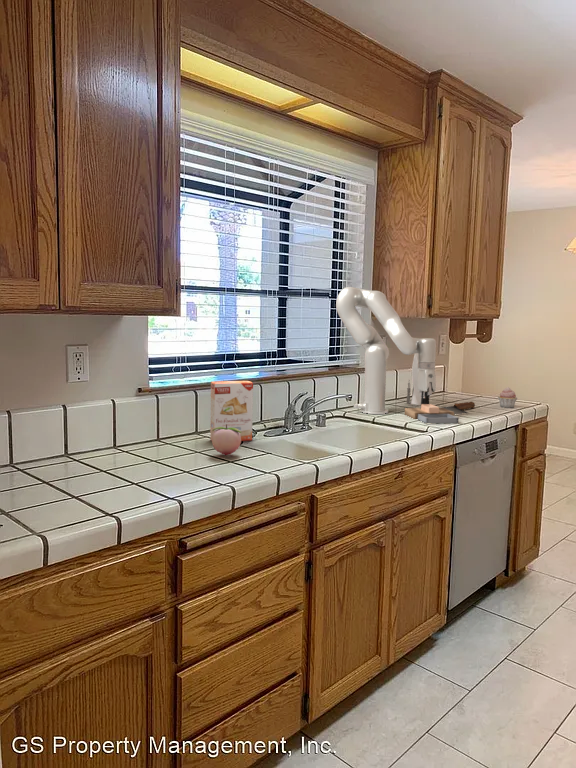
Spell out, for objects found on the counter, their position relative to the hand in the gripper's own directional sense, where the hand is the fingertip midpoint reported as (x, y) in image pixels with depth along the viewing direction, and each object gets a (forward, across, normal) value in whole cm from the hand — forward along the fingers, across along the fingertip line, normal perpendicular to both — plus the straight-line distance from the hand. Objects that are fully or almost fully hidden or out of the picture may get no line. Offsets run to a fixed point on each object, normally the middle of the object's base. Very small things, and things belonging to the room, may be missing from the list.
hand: (424, 406), depth 257 cm
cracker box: (+4, -41, +90) cm, 99 cm away
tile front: (+1, -8, 0) cm, 8 cm away
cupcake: (+5, +20, -52) cm, 56 cm away
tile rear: (+1, -4, 0) cm, 4 cm away
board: (+4, -3, -1) cm, 5 cm away
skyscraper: (+4, +30, -9) cm, 32 cm away
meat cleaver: (+5, +8, -20) cm, 22 cm away
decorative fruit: (+4, -62, +93) cm, 112 cm away
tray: (+4, -14, 0) cm, 15 cm away
